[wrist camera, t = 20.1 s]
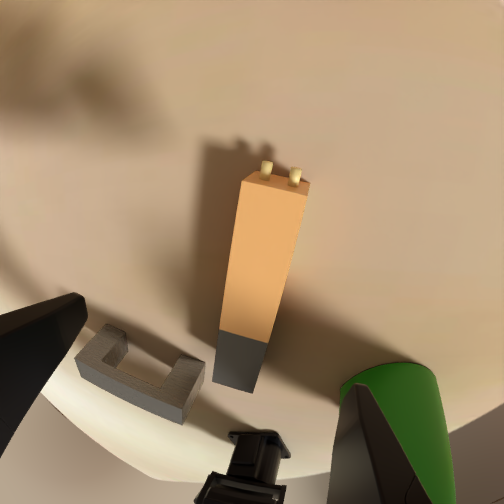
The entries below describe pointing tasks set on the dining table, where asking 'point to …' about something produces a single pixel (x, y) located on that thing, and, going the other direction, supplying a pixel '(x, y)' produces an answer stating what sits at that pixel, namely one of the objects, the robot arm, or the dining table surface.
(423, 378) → the green tall cylinder
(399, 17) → the dining table surface
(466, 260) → the dining table surface
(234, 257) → the plug
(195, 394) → the housing
